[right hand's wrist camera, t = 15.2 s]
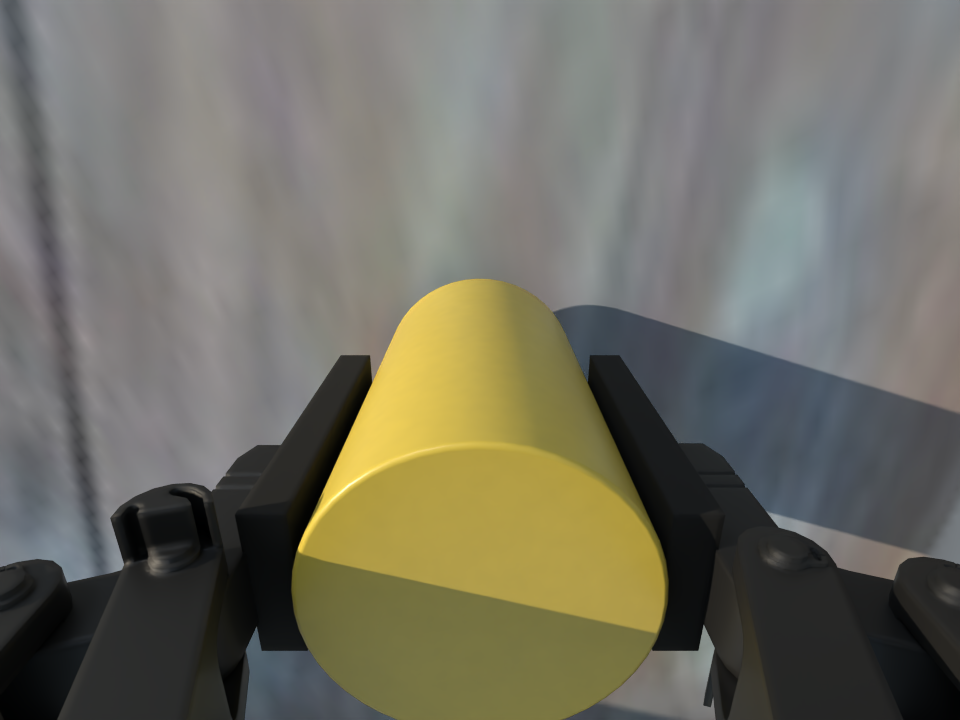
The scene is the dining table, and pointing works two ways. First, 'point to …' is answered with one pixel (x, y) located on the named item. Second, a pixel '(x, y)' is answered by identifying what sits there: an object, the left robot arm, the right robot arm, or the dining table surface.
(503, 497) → the can
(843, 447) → the dining table surface
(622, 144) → the dining table surface
